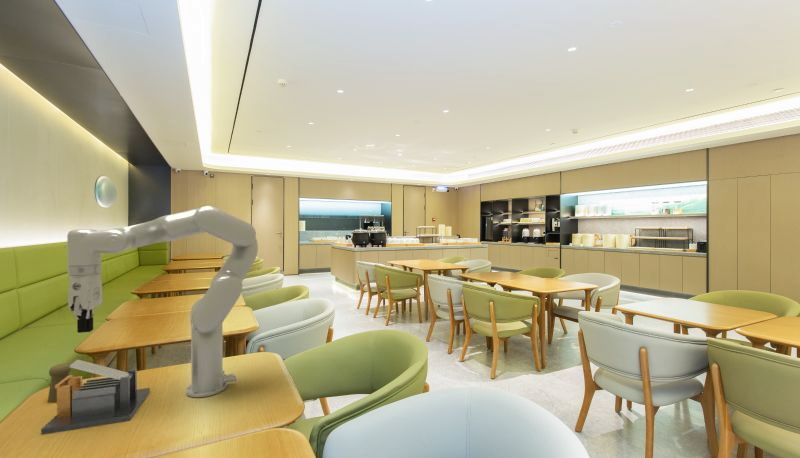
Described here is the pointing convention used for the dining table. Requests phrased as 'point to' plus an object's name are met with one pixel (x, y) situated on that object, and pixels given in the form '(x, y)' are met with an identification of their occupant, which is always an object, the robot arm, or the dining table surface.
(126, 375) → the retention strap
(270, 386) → the dining table surface
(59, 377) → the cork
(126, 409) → the heat sink base
